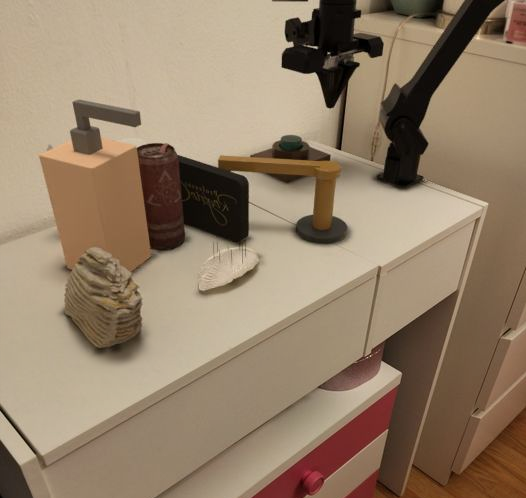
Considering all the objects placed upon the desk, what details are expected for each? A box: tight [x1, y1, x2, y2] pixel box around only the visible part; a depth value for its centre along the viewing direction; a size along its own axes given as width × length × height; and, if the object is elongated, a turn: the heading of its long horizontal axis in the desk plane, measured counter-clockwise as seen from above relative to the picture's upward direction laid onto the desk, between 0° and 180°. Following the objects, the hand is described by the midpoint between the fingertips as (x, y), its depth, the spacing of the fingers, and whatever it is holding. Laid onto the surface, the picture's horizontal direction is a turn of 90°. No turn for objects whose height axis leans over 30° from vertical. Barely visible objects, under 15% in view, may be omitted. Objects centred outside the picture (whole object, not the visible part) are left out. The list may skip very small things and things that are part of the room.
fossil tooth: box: [63, 247, 143, 349], centre depth 64 cm, size 12×6×15 cm
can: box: [137, 142, 186, 250], centre depth 80 cm, size 6×6×14 cm
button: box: [280, 134, 303, 150], centre depth 104 cm, size 4×4×2 cm
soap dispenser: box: [38, 99, 152, 273], centre depth 71 cm, size 13×9×22 cm
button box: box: [249, 139, 331, 183], centre depth 106 cm, size 12×10×4 cm
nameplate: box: [177, 154, 250, 244], centre depth 85 cm, size 21×2×10 cm, turn 54°
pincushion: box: [198, 234, 260, 292], centre depth 75 cm, size 12×6×6 cm, turn 144°
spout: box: [217, 154, 342, 180], centre depth 82 cm, size 18×4×3 cm, turn 83°
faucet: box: [295, 178, 348, 245], centre depth 84 cm, size 8×8×9 cm
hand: (329, 107), depth 95 cm, fingers closed
